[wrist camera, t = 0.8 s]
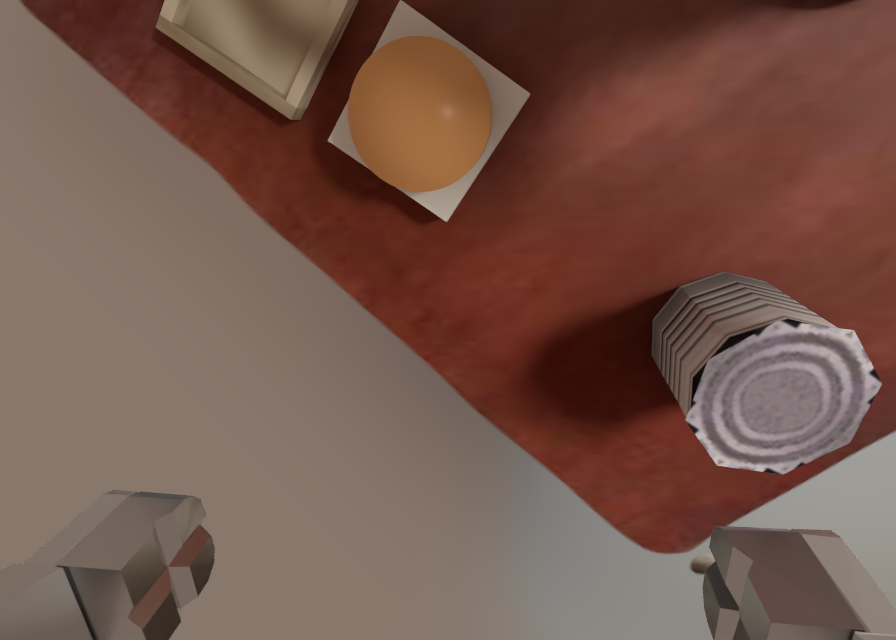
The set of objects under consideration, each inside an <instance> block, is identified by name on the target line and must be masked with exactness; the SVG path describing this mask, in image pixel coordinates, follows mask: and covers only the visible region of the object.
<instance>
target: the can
mask: <svg viewBox="0 0 896 640" xmlns="http://www.w3.org/2000/svg"><path fill="white" fill-rule="evenodd" d="M652 358H653V359H654V361H655V363H656V365H657V366H658V368H659V370H660V372H661V373H662V375H663V377H664V379H665V380H666V382H667V384H668V386H669V387H670V389H671V391H672V393H673V395H674V396H675V398H676V400H677V402H678V403H679V405H680V407H681V409H682V410H683V412H684V414H685V416H686V422H687V423H688V425H689V426H690V428H691V429H692V430H693V432H694V433H695V435H696V436H697V438H698V439H699V440H700V442H701V443H702V445H703V446H704V448H705V449H706V450H707V452H708V453H709V455H710V456H711V457H712V459H713V460H714V462H715V463H716V465H717V466H725V467H732V468H739V469H747V470H754V471H761V472H769V473H776V474H785V473H787V472H789V471H791V470H793V469H795V468H797V467H799V466H802V465H804V464H806V463H808V462H810V461H812V460H814V459H816V458H819V457H821V456H823V455H825V454H827V453H829V452H831V451H833V450H835V449H838V448H840V447H842V446H844V445H846V444H848V443H850V442H851V440H852V438H853V436H854V434H855V432H856V431H857V429H858V427H859V425H860V423H861V421H862V420H863V419H864V416H865V414H866V412H867V410H868V409H869V407H870V405H871V403H872V401H873V399H874V398H875V396H876V394H877V392H878V390H879V388H880V387H881V385H882V383H881V381H880V379H879V377H878V375H877V373H876V371H875V369H874V367H873V365H872V364H871V362H870V360H869V358H868V356H867V354H866V352H865V350H864V348H863V346H862V345H861V343H860V341H859V339H858V337H857V335H856V333H855V331H854V330H847V329H840V328H837V327H835V326H834V325H832V324H831V323H829V322H828V321H826V320H825V319H823V318H821V317H820V316H818V315H817V314H815V313H814V312H812V311H811V310H809V309H807V308H806V307H804V306H803V305H801V304H800V303H798V302H797V301H795V300H794V299H792V298H790V297H789V296H787V295H786V294H784V293H783V292H781V291H780V290H778V289H776V288H775V287H773V286H772V285H770V284H769V283H767V282H766V281H762V280H757V279H753V278H749V277H745V276H740V275H736V274H732V273H728V272H724V271H723V272H720V273H717V274H714V275H711V276H708V277H705V278H702V279H700V280H697V281H694V282H691V283H688V284H685V285H682V286H680V287H679V288H678V289H677V290H676V291H675V293H674V294H673V295H672V296H671V298H670V299H669V300H668V301H667V302H666V304H665V305H664V306H663V307H662V309H661V310H660V311H659V312H658V313H657V315H656V316H655V317H654V318H653V329H652Z"/></svg>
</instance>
